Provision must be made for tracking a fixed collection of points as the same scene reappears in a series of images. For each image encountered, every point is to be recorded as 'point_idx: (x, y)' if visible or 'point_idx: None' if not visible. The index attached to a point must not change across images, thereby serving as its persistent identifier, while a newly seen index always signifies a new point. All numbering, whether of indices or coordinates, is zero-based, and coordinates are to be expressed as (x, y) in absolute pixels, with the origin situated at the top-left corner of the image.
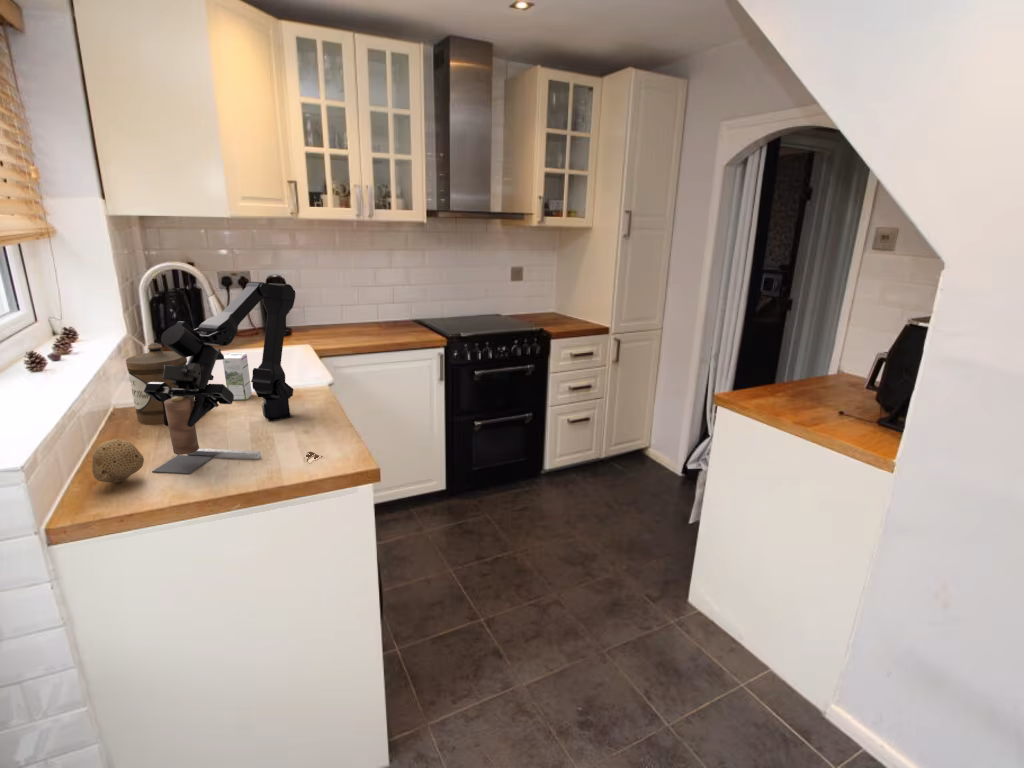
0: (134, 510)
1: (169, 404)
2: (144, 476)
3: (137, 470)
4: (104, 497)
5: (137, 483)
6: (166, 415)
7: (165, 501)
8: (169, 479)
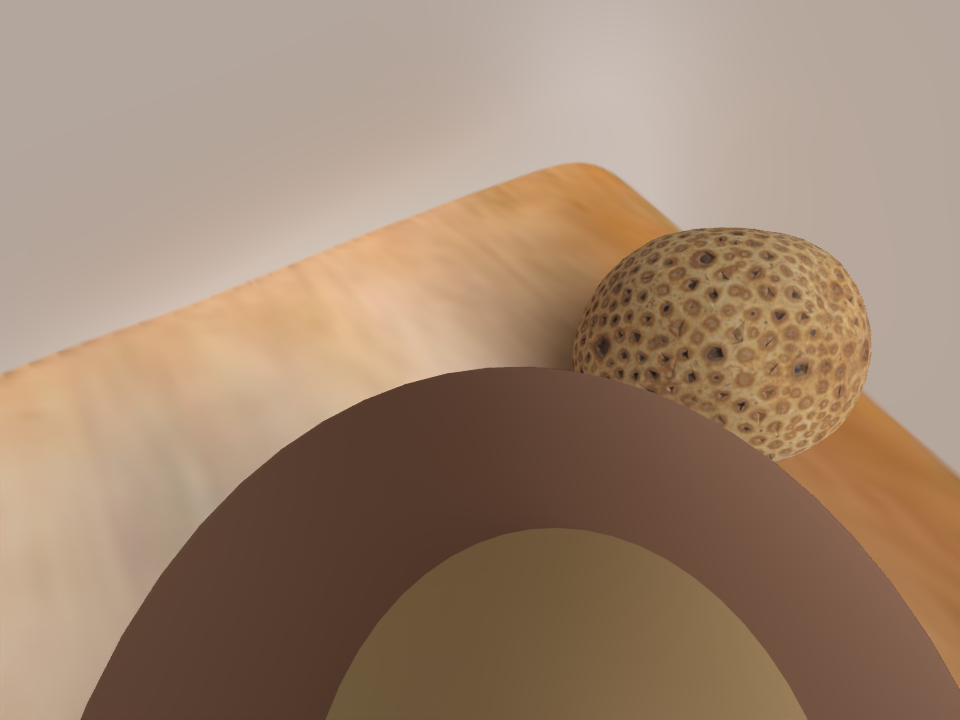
0: (403, 230)
1: (515, 369)
2: None
3: None
4: (592, 292)
5: None
6: None
7: (328, 286)
8: None
